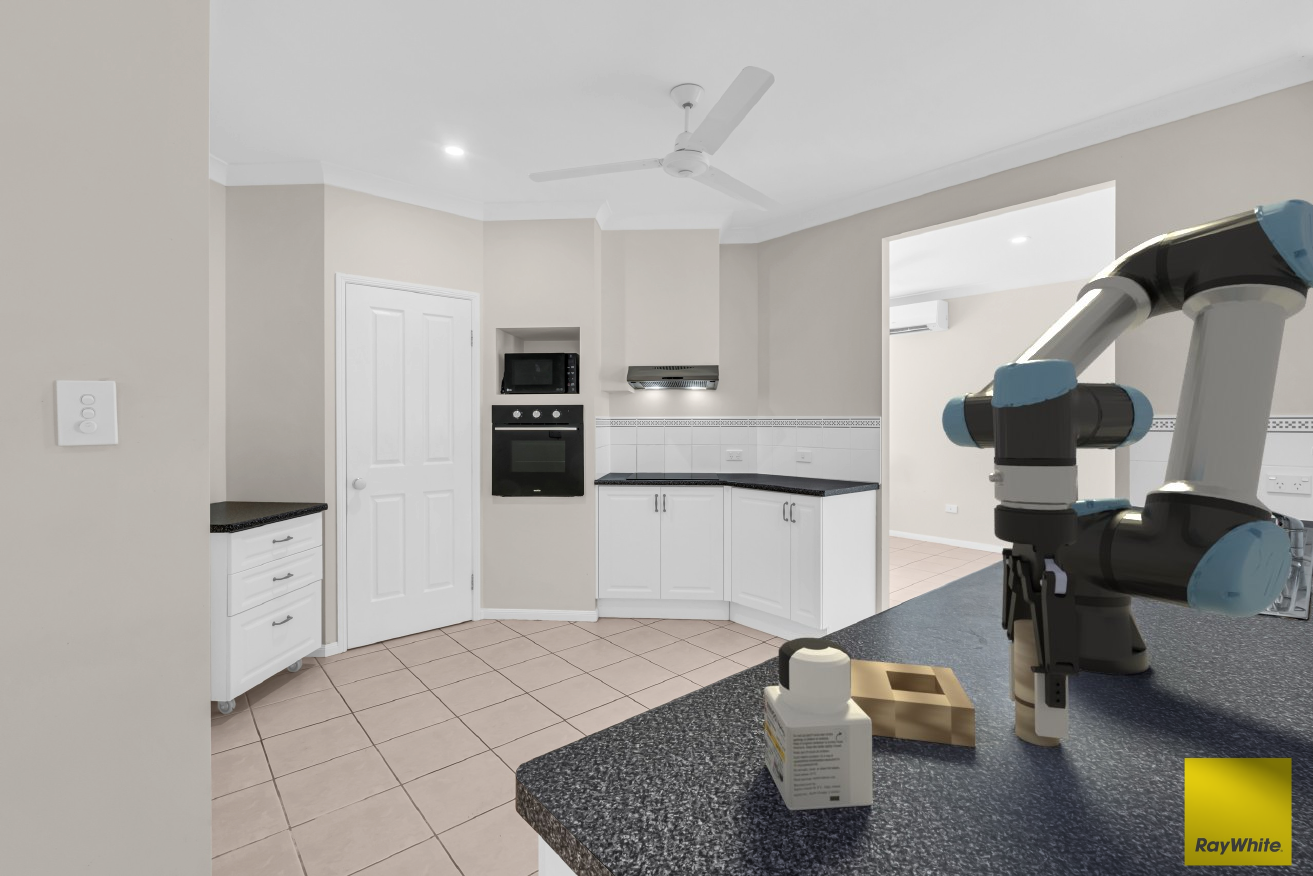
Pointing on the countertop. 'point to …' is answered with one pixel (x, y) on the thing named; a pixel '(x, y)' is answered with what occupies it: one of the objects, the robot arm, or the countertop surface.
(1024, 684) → the peg
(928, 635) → the countertop surface
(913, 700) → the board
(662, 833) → the countertop surface
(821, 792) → the container
